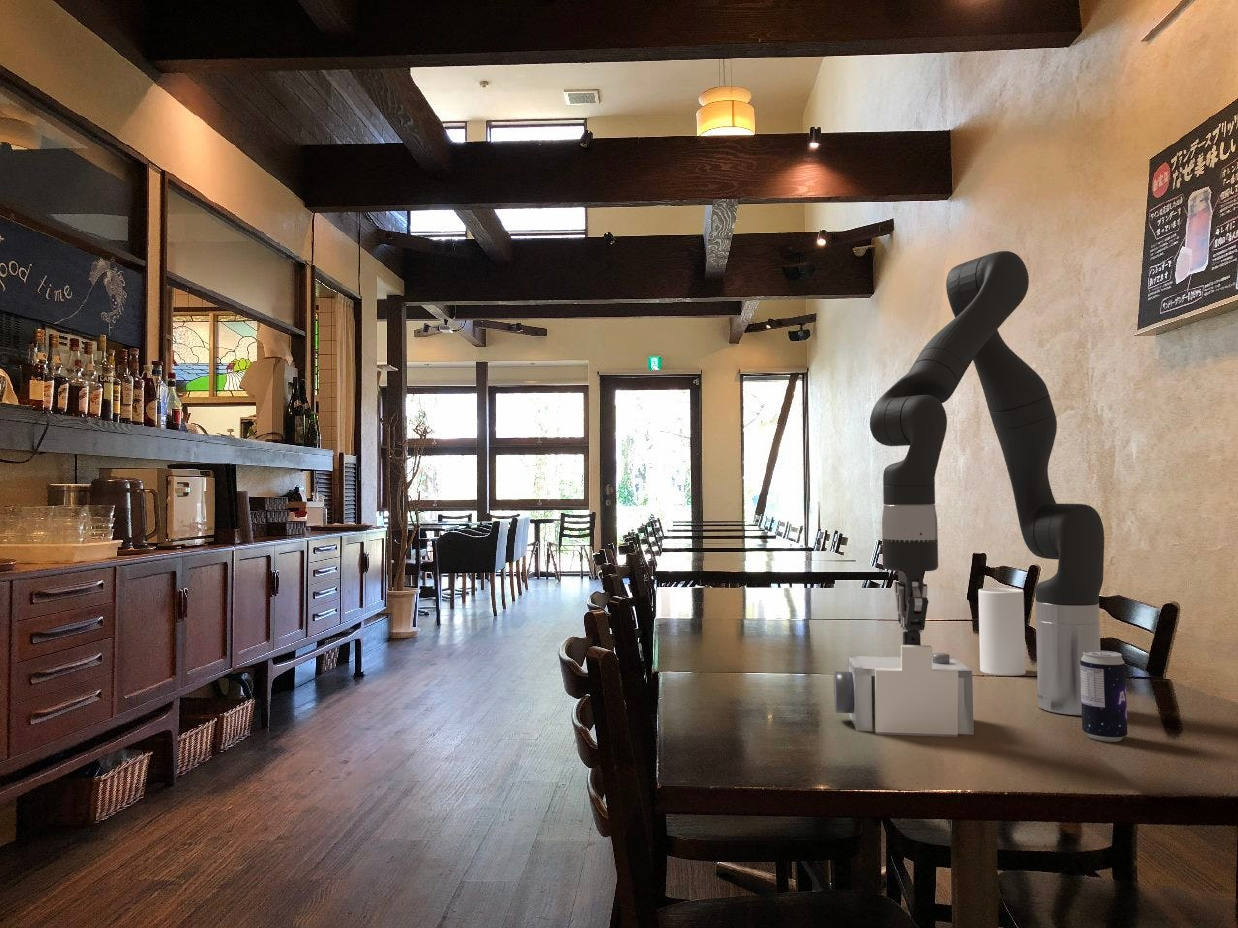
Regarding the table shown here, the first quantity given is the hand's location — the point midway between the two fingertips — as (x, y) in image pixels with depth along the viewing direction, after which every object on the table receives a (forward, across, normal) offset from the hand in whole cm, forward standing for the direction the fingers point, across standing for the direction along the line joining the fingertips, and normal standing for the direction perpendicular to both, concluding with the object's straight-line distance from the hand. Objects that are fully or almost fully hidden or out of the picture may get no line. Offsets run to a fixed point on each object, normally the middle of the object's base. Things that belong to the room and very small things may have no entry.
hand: (911, 658), depth 124 cm
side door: (+10, -1, 0) cm, 11 cm away
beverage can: (+12, +5, -27) cm, 30 cm away
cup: (+13, +53, -26) cm, 61 cm away
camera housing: (+12, +5, +1) cm, 13 cm away
